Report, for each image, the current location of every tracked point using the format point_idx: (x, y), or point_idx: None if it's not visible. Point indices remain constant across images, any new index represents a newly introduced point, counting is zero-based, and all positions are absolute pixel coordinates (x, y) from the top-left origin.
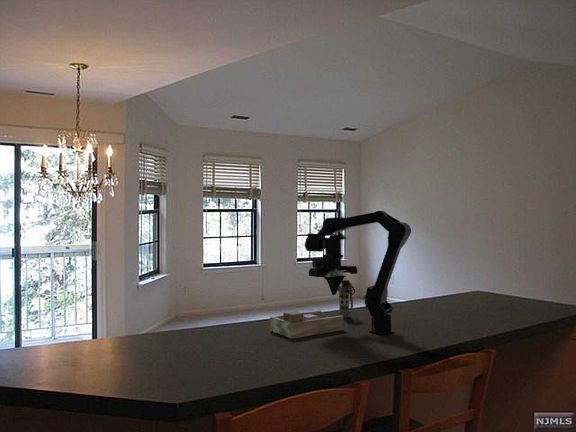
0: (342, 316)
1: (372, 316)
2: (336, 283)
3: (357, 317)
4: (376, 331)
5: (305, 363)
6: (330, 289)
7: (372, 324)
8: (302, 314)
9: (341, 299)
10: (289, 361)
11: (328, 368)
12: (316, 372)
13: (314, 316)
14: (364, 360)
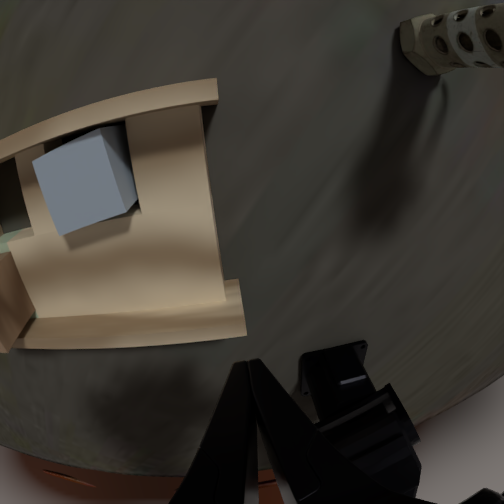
0: (241, 334)
1: (334, 397)
2: (284, 497)
3: (458, 95)
4: (307, 382)
5: (49, 441)
6: (216, 409)
7: (325, 372)
8: (6, 348)
9: (475, 37)
10: (25, 425)
11: (81, 462)
12: (64, 461)
13: (101, 220)
14: (144, 469)
